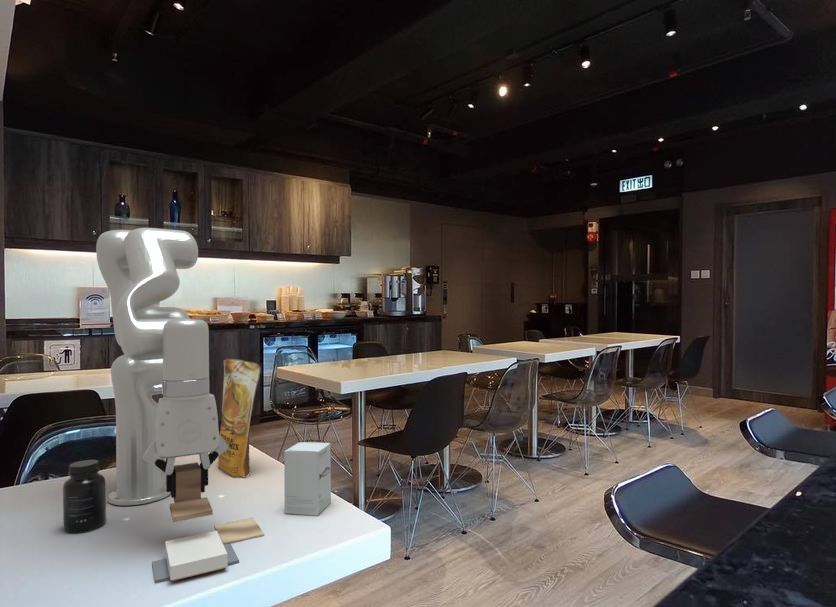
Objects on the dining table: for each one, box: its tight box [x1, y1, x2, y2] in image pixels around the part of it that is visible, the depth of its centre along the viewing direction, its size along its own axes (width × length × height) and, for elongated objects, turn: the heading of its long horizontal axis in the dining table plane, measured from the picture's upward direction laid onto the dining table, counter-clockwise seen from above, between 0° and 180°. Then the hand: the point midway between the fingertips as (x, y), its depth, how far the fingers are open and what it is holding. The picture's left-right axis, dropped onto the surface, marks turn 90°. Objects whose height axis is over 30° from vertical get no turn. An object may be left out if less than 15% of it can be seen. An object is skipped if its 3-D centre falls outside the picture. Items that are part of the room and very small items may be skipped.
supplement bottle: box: [62, 459, 107, 534], centre depth 99 cm, size 7×7×12 cm
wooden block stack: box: [169, 461, 214, 523], centre depth 90 cm, size 10×6×6 cm, turn 30°
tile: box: [164, 530, 229, 582], centre depth 83 cm, size 2×8×10 cm
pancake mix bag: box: [217, 358, 262, 478], centre depth 134 cm, size 7×19×28 cm, turn 39°
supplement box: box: [283, 441, 332, 517], centre depth 107 cm, size 7×7×13 cm
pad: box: [214, 516, 265, 545], centre depth 96 cm, size 9×7×1 cm
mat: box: [151, 543, 240, 584], centre depth 83 cm, size 7×12×1 cm, turn 120°
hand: (187, 491), depth 92 cm, fingers closed on wooden block stack, 4 cm apart
